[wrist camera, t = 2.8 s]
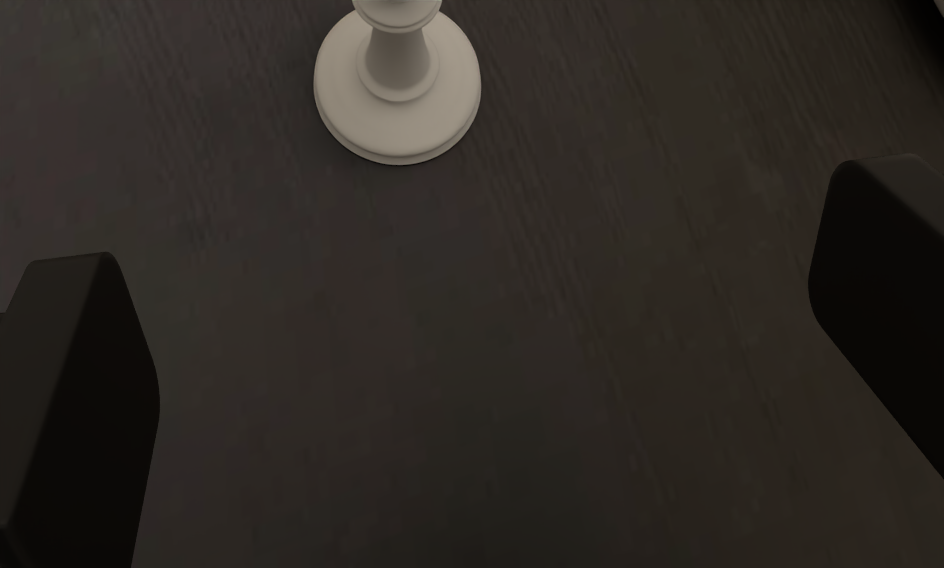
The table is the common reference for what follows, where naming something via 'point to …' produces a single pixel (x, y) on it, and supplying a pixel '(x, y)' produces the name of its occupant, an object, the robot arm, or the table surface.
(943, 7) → the earbud case
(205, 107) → the table surface
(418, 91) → the chess piece
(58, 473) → the robot arm
